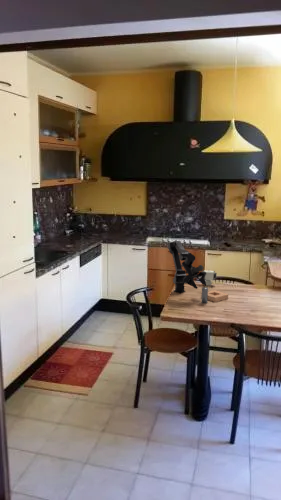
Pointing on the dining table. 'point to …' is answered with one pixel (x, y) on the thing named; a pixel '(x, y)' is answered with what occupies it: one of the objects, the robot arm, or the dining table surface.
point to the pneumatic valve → (209, 277)
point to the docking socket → (216, 296)
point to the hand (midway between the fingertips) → (201, 287)
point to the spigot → (204, 295)
